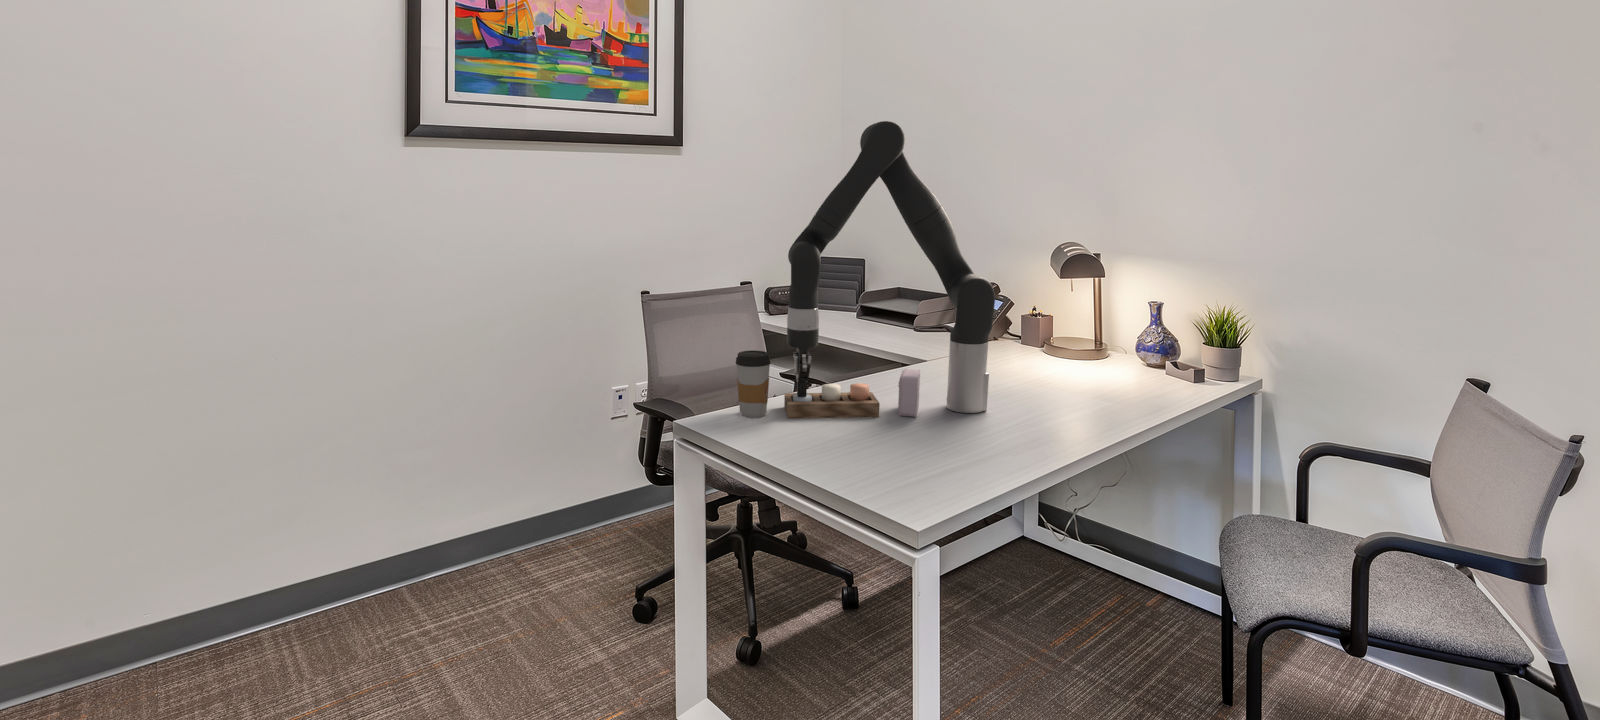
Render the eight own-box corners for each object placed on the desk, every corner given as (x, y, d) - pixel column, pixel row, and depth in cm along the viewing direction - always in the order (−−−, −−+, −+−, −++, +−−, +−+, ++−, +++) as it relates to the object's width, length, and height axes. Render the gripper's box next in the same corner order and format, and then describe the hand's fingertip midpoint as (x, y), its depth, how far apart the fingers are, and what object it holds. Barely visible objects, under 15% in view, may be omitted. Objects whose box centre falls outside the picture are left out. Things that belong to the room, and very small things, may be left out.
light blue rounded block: (810, 406, 194) (810, 393, 193) (812, 411, 189) (812, 398, 189) (792, 406, 193) (792, 394, 193) (793, 411, 189) (793, 399, 188)
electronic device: (900, 405, 198) (901, 367, 196) (918, 407, 197) (920, 368, 195) (896, 417, 189) (898, 376, 187) (916, 418, 188) (918, 377, 186)
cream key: (839, 396, 194) (839, 383, 193) (841, 401, 190) (842, 388, 189) (820, 396, 194) (820, 383, 193) (822, 401, 189) (823, 388, 188)
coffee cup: (765, 420, 185) (765, 358, 181) (731, 418, 186) (731, 356, 183) (774, 410, 193) (774, 351, 189) (741, 408, 194) (740, 349, 191)
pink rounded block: (867, 395, 195) (867, 383, 194) (870, 400, 190) (870, 388, 190) (848, 396, 194) (848, 383, 194) (851, 401, 190) (851, 388, 189)
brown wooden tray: (871, 405, 198) (871, 392, 197) (879, 417, 188) (879, 402, 188) (784, 406, 196) (784, 393, 195) (787, 418, 186) (787, 404, 186)
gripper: (822, 331, 181) (820, 403, 185) (815, 321, 194) (813, 389, 197) (789, 331, 180) (788, 404, 184) (785, 321, 193) (784, 389, 197)
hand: (801, 396), depth 191 cm, fingers closed
